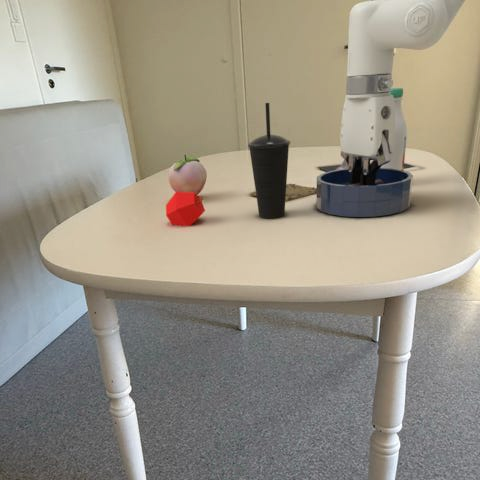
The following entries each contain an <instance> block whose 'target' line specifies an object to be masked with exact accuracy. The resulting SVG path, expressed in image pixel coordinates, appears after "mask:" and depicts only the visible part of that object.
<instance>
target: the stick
mask: <svg viewBox="0 0 480 480" xmlns="http://www.w3.org/2000/svg"><path fill="white" fill-rule="evenodd" d="M381 184H384V183H383V181H382V180H380V179H376V180H375V185H381ZM351 185H353V186H360V183H356V184H351Z"/></svg>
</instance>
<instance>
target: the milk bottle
mask: <svg viewBox="0 0 480 480" xmlns="http://www.w3.org/2000/svg"><path fill="white" fill-rule="evenodd" d="M390 95H393V98H394V106H395V140H394V150H393V152H392V153H391V154H390V162H389V163H387V164H384V165H382V166H381V167H380V168H392V169H398V170H404V171H405V169H404V163H405V157H406V147H407V134H408V133H407V131H408V129H407V123H406V120H405V117H404V114H403V110H402V109H403V108H402V100H403V96H404V88H402V87H393V88H392V87H391V91H390ZM372 161H373V160H370V164H371V163H372Z"/></svg>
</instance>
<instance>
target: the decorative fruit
mask: <svg viewBox="0 0 480 480" xmlns="http://www.w3.org/2000/svg"><path fill="white" fill-rule="evenodd" d="M207 177H208V174H207V169H206V168H205V166H204V165H203V164H202V163H201V161H200V160H199V159H198V158H197V157H188V158H187V155H186V154H184V159H183V160H179V161H177V162H174V163H173V164H172V165H171V167H170V168H169V170H168V173H167V179H168V184H169V185H170V187H171V189H172V190H173V192H175V193H176V192H188V193H195V194H196V195H198V196H199V194H201V192H202V191H203V189H204V187H205V184H206V182H207Z"/></svg>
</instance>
